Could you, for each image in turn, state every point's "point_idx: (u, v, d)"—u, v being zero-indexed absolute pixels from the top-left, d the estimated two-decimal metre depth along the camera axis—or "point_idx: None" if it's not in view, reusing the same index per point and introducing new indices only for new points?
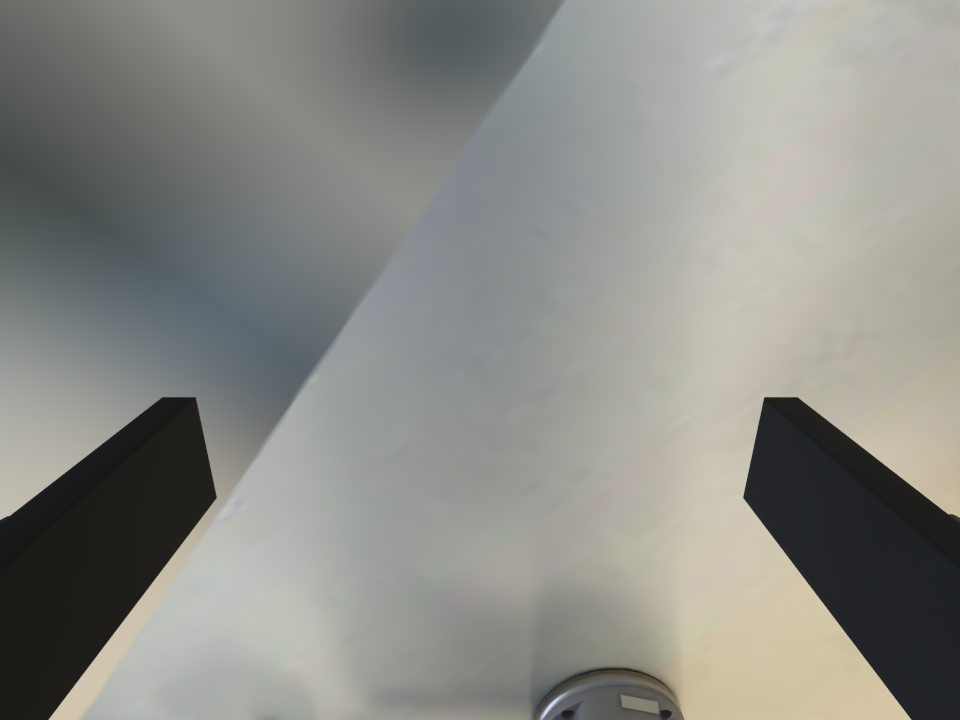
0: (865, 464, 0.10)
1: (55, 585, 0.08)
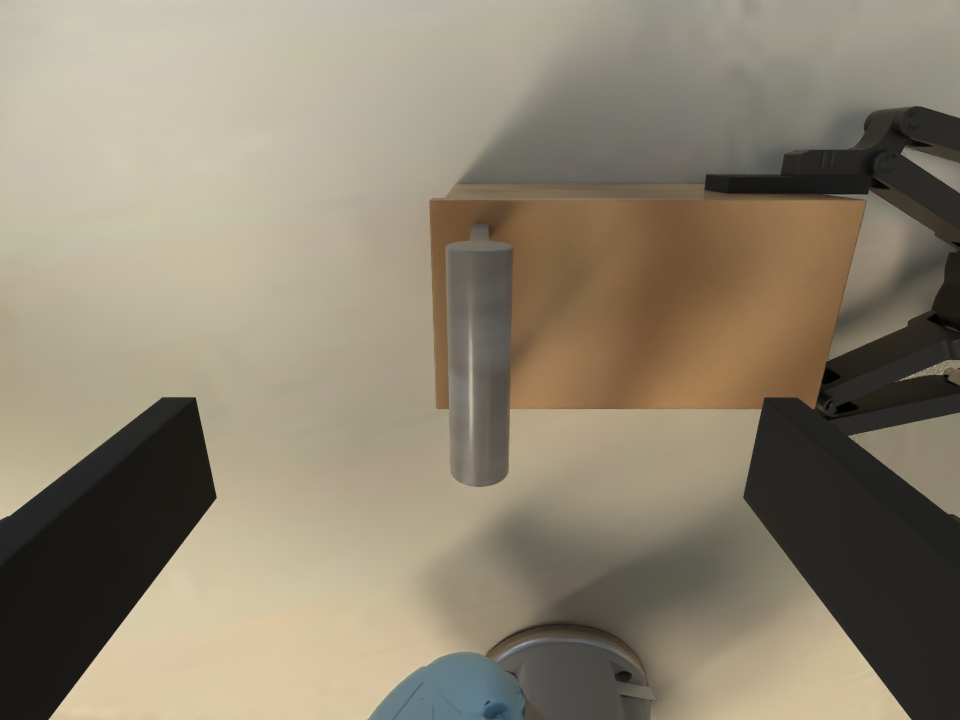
0: (865, 464, 0.10)
1: (55, 585, 0.08)
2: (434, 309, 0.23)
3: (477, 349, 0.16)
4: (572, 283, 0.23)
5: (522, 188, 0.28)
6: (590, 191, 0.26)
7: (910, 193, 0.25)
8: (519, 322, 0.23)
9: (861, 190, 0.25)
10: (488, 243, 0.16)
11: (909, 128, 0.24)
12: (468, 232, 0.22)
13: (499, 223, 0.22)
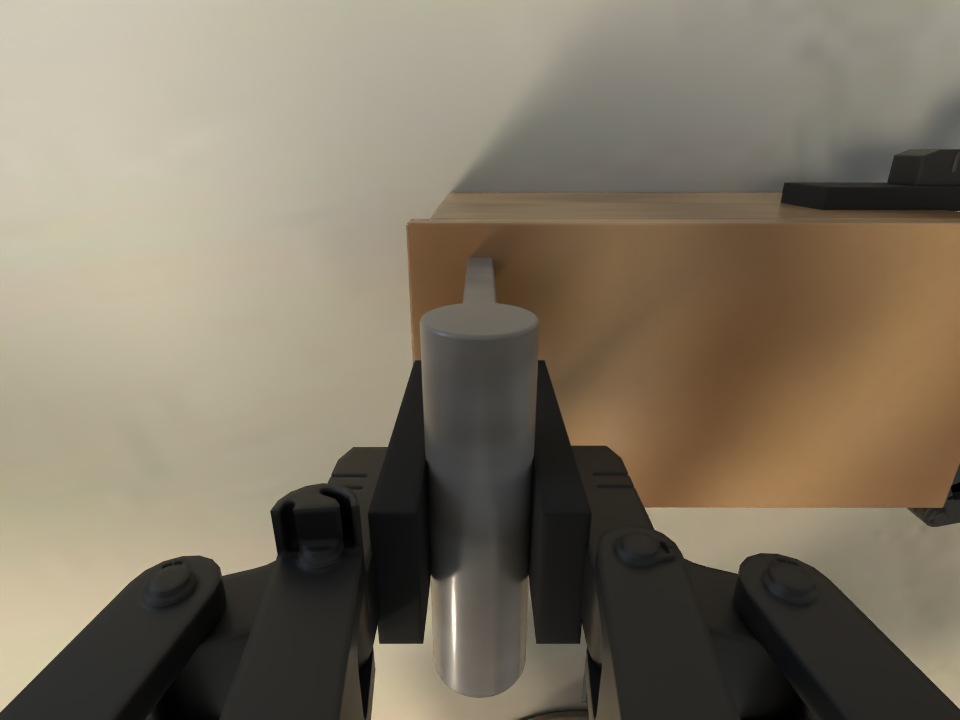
0: (543, 406, 0.12)
1: None
2: None
3: (477, 498, 0.09)
4: (612, 341, 0.16)
5: (536, 200, 0.21)
6: (630, 205, 0.19)
7: None
8: None
9: None
10: (495, 311, 0.09)
11: None
12: (463, 269, 0.15)
13: (508, 256, 0.15)
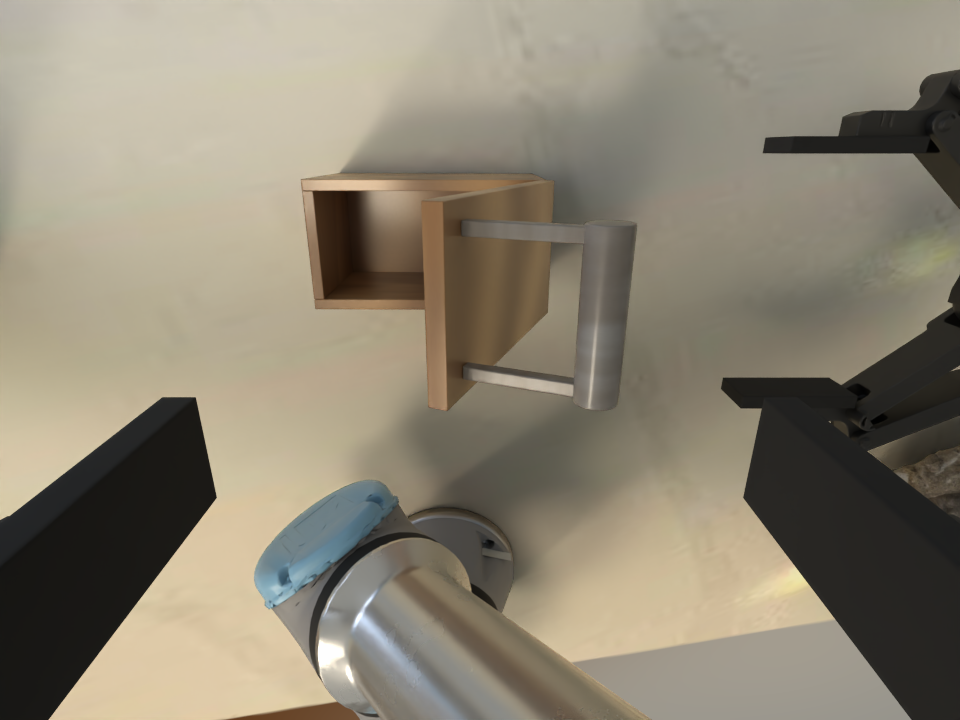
0: (865, 464, 0.10)
1: (55, 585, 0.08)
2: (446, 310, 0.23)
3: (629, 297, 0.22)
4: (494, 260, 0.28)
5: (370, 175, 0.43)
6: None
7: (958, 158, 0.26)
8: (478, 303, 0.27)
9: (919, 149, 0.26)
10: (604, 221, 0.22)
11: None
12: (459, 228, 0.23)
13: (471, 217, 0.24)
